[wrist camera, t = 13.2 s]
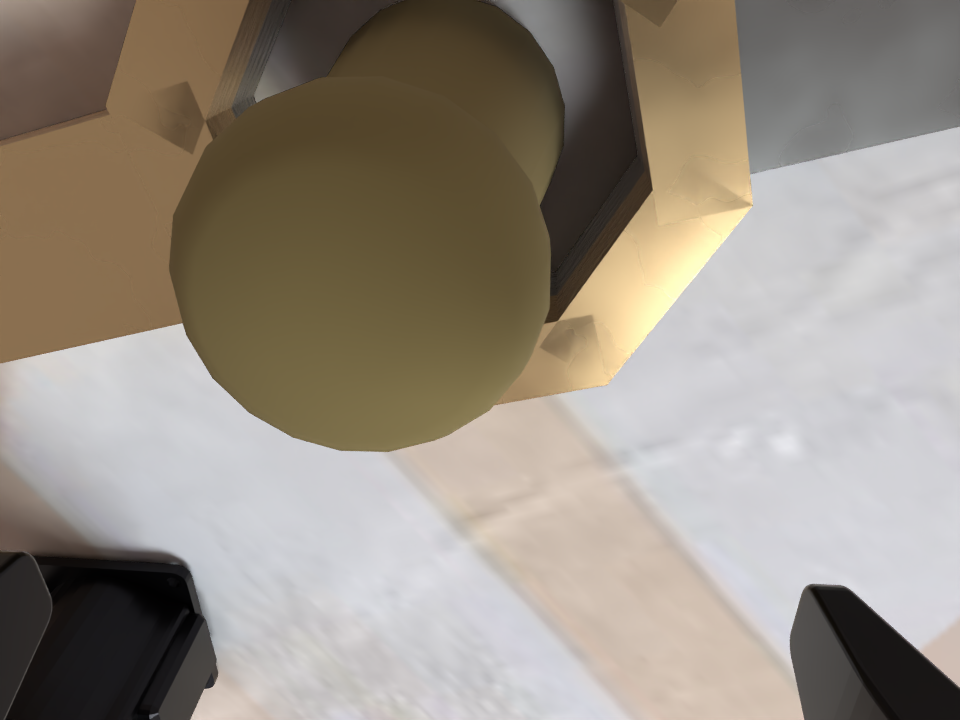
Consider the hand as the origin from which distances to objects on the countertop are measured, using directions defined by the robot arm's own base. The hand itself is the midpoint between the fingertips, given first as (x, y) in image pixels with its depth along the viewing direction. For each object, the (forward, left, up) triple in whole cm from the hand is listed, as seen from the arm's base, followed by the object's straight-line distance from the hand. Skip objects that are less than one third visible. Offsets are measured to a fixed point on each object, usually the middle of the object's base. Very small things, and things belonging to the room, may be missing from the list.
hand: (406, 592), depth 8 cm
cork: (-1, +3, -13) cm, 13 cm away
